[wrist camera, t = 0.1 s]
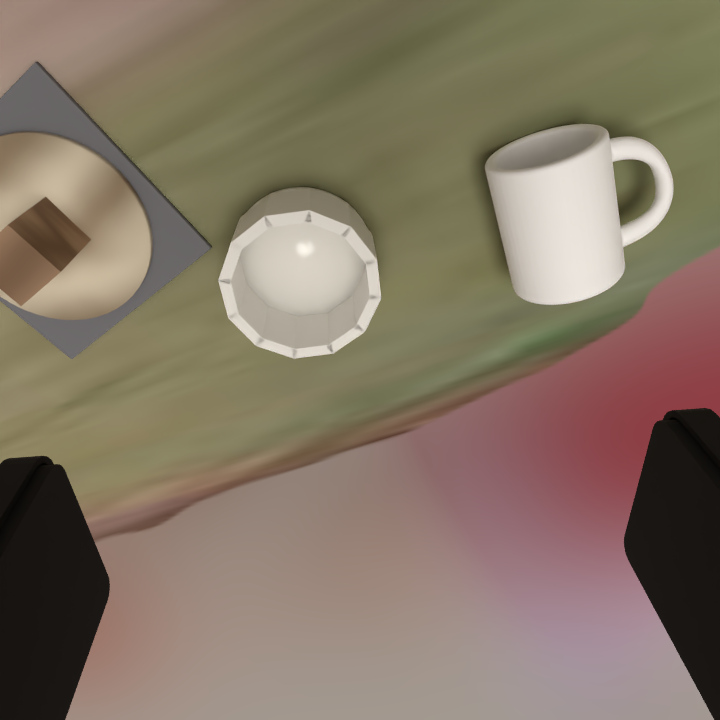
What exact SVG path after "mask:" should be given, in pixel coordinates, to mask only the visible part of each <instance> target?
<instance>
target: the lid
mask: <svg viewBox="0 0 720 720" xmlns="http://www.w3.org/2000/svg"><path fill="white" fill-rule="evenodd" d="M152 253H153V237H152V229H151V225H150V221H149V217H148V215H147V212H146V209H145V207H144V205H143V203H142V201H141V199H140V197H139V195H138V193H137V192H136V191H135V189H134V188H133V186H132V185H131V183H130V182H129V181H128V180H127V179H126V177H125V176H124V175H123V174H122V173H121V172H120V171H119V170H118V169H117V168H116V167H115V166H114V165H113V164H112V163H111V162H109V161H108V160H107V159H105V158H104V157H103V156H101V155H100V154H99V153H97V152H96V151H94V150H92V149H90V148H89V147H87V146H85V145H83V144H81V143H79V142H77V141H74V140H72V139H69V138H66V137H63V136H60V135H56V134H51V133H46V132H36V131H23V132H14V133H9V134H4V135H1V136H0V297H2V298H3V299H5V300H6V301H8V302H10V303H11V304H13V305H15V306H17V307H19V308H21V309H24V310H26V311H29V312H31V313H34V314H37V315H41V316H44V317H48V318H54V319H61V320H83V319H89V318H95V317H98V316H101V315H104V314H107V313H109V312H111V311H113V310H115V309H117V308H119V307H120V306H121V305H123V304H124V303H126V302H127V301H128V300H129V299H130V298H131V297H132V296H133V295H134V293H135V292H136V291H137V290H138V288H139V287H140V285H141V284H142V282H143V280H144V278H145V276H146V274H147V272H148V269H149V267H150V264H151V259H152Z"/></svg>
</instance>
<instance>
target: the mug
mask: <svg viewBox="0 0 720 720" xmlns="http://www.w3.org/2000/svg"><path fill="white" fill-rule="evenodd" d="M625 159H635V160H640V161H643V162H645V163H647V164H648V165H649V166H650V168H651V170H652V172H653V175H654V180H655V188H656V191H655V198H654V201H653V203H652V205H651V207H650V208H649V209H648V210H647V211H646V212H645V213H644V214H642V215H641V216H639V217H638V218H636V219H634V220H632V221H630V222H628V223H626V224H624V225H621V226H620V220H619V212H618V203H617V195H616V187H615V179H614V171H613V162H614V161H618V160H625ZM485 171H486V176H487V180H488V184H489V188H490V192H491V197H492V201H493V205H494V209H495V213H496V218H497V222H498V226H499V230H500V235H501V239H502V243H503V247H504V251H505V256H506V260H507V264H508V268H509V273H510V277H511V281H512V285H513V289H514V291H515V293H516V294H517V295H518V296H519V297H521V298H522V299H524V300H526V301H529V302H532V303H537V304H546V305H557V304H567V303H573V302H577V301H581V300H585V299H588V298H591V297H593V296H596V295H598V294H600V293H602V292H604V291H606V290H607V289H609V288H610V287H612V286H613V285H614V284H615V283H616V282H617V281H618V280H619V279H620V278H621V276H622V275H623V273H624V269H625V261H624V252H623V247H624V246H626V245H629V244H631V243H633V242H635V241H637V240H639V239H641V238H642V237H644V236H645V235H647V234H648V233H649V232H651V231H652V230H653V229H654V228H655V227H656V226H657V225H658V224H659V223H660V222H661V221H662V219H663V218H664V217H665V215H666V213H667V211H668V209H669V207H670V204H671V201H672V197H673V179H672V174H671V171H670V168H669V166H668V164H667V162H666V160H665V158H664V157H663V155H662V154H661V153H660V151H659V150H658V149H657V148H656V147H655V146H654V145H652V144H651V143H649V142H648V141H646V140H643V139H641V138H637V137H627V136H626V137H616V138H611V139H610V138H609V133H608V131H607V130H606V129H605V128H604V127H601V126H599V125H594V124H573V125H566V126H560V127H555V128H551V129H547V130H543V131H539V132H536V133H533V134H530V135H527V136H525V137H522V138H520V139H517V140H515V141H513V142H511V143H509V144H507V145H505V146H504V147H502V148H500V149H499V150H497V151H496V152H495V153H493V154H492V155H491V156H490V157H489V159H488V160H487V162H486V164H485Z"/></svg>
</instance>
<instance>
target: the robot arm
mask: <svg viewBox="0 0 720 720" xmlns="http://www.w3.org/2000/svg"><path fill="white" fill-rule="evenodd" d="M624 547H625V552H626V555H627V558H628V560H629V562H630V564H631V566H632V568H633V570H634V571H635V573H636V575H637V577H638V579H639V581H640V583H641V584H642V586H643V588H644V590H645V592H646V594H647V596H648V598H649V599H650V601H651V603H652V605H653V607H654V609H655V611H656V612H657V614H658V616H659V618H660V620H661V622H662V623H663V625H664V627H665V629H666V631H667V633H668V635H669V636H670V638H671V640H672V642H673V644H674V646H675V648H676V650H677V651H678V653H679V655H680V657H681V659H682V661H683V663H684V664H685V666H686V668H687V670H688V672H689V673H690V676H691V677H692V679H693V681H694V683H695V684H696V687H697V689H698V690H699V692H700V694H701V696H702V698H703V700H704V701H705V703H706V705H707V707H708V709H709V711H710V713H711V715H712V716H713V718H714V720H720V418H719V416H718V415H717V414H716V413H714V412H713V411H712V410H711V409H707V408H700V409H686V410H672V411H669V412H667V413H666V415H665V416H664V418H663V420H661V421H657V422H656V423H655V425H654V427H653V430H652V434H651V438H650V442H649V445H648V449H647V453H646V457H645V461H644V464H643V468H642V472H641V476H640V479H639V483H638V487H637V491H636V495H635V498H634V502H633V506H632V510H631V513H630V517H629V521H628V525H627V529H626V533H625V537H624ZM109 588H110V584H109V577H108V574H107V572H106V569H105V567H104V564H103V562H102V560H101V557H100V555H99V552H98V550H97V547H96V545H95V542H94V540H93V538H92V535H91V533H90V530H89V528H88V525H87V523H86V521H85V518H84V516H83V513H82V511H81V508H80V506H79V503H78V501H77V499H76V496H75V494H74V491H73V489H72V486H71V484H70V482H69V479H68V477H67V474H66V472H65V470H64V468H63V467H62V466H61V465H58V464H53V462H52V460H51V459H50V458H48V457H47V456H35V457H21V458H8V459H6V460H4V461H3V462H2V463H1V464H0V720H65V718H66V716H67V713H68V710H69V708H70V704H71V702H72V699H73V696H74V693H75V691H76V688H77V685H78V682H79V679H80V676H81V673H82V671H83V668H84V665H85V662H86V659H87V656H88V654H89V651H90V648H91V645H92V643H93V640H94V637H95V634H96V632H97V628H98V626H99V623H100V620H101V617H102V614H103V612H104V609H105V606H106V603H107V600H108V597H109V590H110V589H109Z"/></svg>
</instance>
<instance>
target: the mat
mask: <svg viewBox="0 0 720 720" xmlns="http://www.w3.org/2000/svg"><path fill="white" fill-rule="evenodd" d="M23 131H36V132H46V133H51V134H56V135H60V136H63V137H66V138H69V139H72V140H74V141H77V142H79V143H81V144H83V145H85V146H87V147H89V148H90V149H92V150H94V151H96V152H97V153H99V154H100V155H101V156H103V157H104V158H105V159H107V160H108V161H109V162H111V163H112V164H113V165H114V166H115V167H116V168H117V169H118V170H119V171H120V172H121V173H122V174H123V175H124V176H125V177H126V179H127V180H128V181H129V182H130V183H131V185H132V186H133V188H134V189H135V191H136V192H137V193H138V195H139V197H140V199H141V201H142V203H143V205H144V207H145V209H146V212H147V215H148V217H149V221H150V225H151V229H152V237H153V253H152V259H151V264H150V267H149V269H148V272H147V274H146V276H145V278H144V280H143V282H142V284H141V285H140V287H139V288H138V290H137V291H136V292H135V293H134V295H133V296H132V297H131V298H130V299H129V300H128V301H127V302H126V303H124V304H123V305H121V306H120V307H119V308H117V309H115V310H113V311H111V312H109V313H107V314H104V315H101V316H98V317H95V318H89V319H83V320H61V319H54V318H48V317H44V316H41V315H37V314H34V313H31V312H29V311H26V310H24V309H21V308H19V307H17V306H15V305H13V304H11V303H10V302H8V301H6V300H5V299H3V298H2V297H0V301H1V302H2V303H4V304H5V305H6V306H7V307H8V308H10V309H11V310H12V311H13V312H15V313H16V314H17V315H18V316H19V317H21V318H22V319H23V320H24V321H26V322H27V323H28V324H29V325H30V326H32V327H33V328H34V329H35V330H37V331H38V332H39V333H40V334H41V335H43V336H44V337H45V338H46V339H48V340H49V341H50V342H51V343H52V344H54V345H55V346H56V347H57V348H59V349H60V350H61V351H62V352H63V353H65V354H66V355H67V356H68V357H70V358H71V359H73V358H74V357H75V356H77V355H78V354H79V353H80V352H82V351H83V350H84V349H85V348H87V347H88V346H89V345H90V344H92V343H93V342H94V341H95V340H97V339H98V338H99V337H100V336H102V335H103V334H104V333H105V332H107V331H108V330H109V329H110V328H112V327H113V326H114V325H115V324H117V323H118V322H119V321H120V320H122V319H123V318H124V317H125V316H127V315H128V314H129V313H130V312H132V311H133V310H134V309H136V308H137V307H138V306H139V305H141V304H142V303H143V302H144V301H146V300H147V299H148V298H149V297H151V296H152V295H153V294H154V293H156V292H157V291H158V290H159V289H161V288H162V287H163V286H164V285H166V284H167V283H168V282H169V281H171V280H172V279H173V278H174V277H176V276H177V275H178V274H179V273H181V272H182V271H183V270H184V269H186V268H187V267H188V266H189V265H191V264H192V263H193V262H194V261H196V260H197V259H198V258H200V257H201V256H202V255H203V254H205V253H206V252H207V251H208V250H210V249H211V247H212V246H211V245H210V244H209V243H208V242H207V241H206V240H205V239H204V238H203V236H202V235H201V234H200V233H199V232H198V231H197V230H196V229H195V228H194V227H193V226H192V225H191V224H190V223H189V222H188V221H187V220H186V218H185V217H184V216H183V215H182V214H181V213H180V212H179V211H178V210H177V209H176V208H175V207H174V206H173V205H172V204H171V203H170V201H169V200H168V199H167V198H166V197H165V196H164V195H163V194H162V193H161V192H160V191H159V190H158V189H157V188H156V187H155V186H154V185H153V183H152V182H151V181H150V180H149V179H148V178H147V177H146V176H145V175H144V174H143V173H142V172H141V171H140V170H139V169H138V168H137V166H136V165H135V164H134V163H133V162H132V161H131V160H130V159H129V158H128V157H127V156H126V155H125V154H124V153H123V152H122V151H121V149H120V148H119V147H118V146H117V145H116V144H115V143H114V142H113V141H112V140H111V139H110V138H109V137H108V136H107V135H106V134H105V133H104V131H103V130H102V129H101V128H100V127H99V126H98V125H97V124H96V123H95V122H94V121H93V120H92V119H91V118H90V117H89V116H88V114H87V113H86V112H85V111H84V110H83V109H82V108H81V107H80V106H79V105H78V104H77V103H76V102H75V101H74V100H73V99H72V98H71V96H70V95H69V94H68V93H67V92H66V91H65V90H64V89H63V88H62V87H61V86H60V85H59V84H58V83H57V82H56V81H55V79H54V78H53V77H52V76H51V75H50V74H49V73H48V72H47V71H46V70H45V69H44V68H43V67H42V66H41V65H40V64H39V63H38V62H35V63H34V64H33V65H32V66H31V67H30V68H29V69H28V70H27V71H26V72H25V73H24V75H23V76H22V77H21V78H20V79H19V80H18V81H17V82H16V83H15V84H14V85H13V86H12V87H11V88H10V89H9V90H8V91H7V92H6V93H5V94H4V95H3V96H2V97H1V98H0V136H1V135H4V134H9V133H14V132H23Z"/></svg>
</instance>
